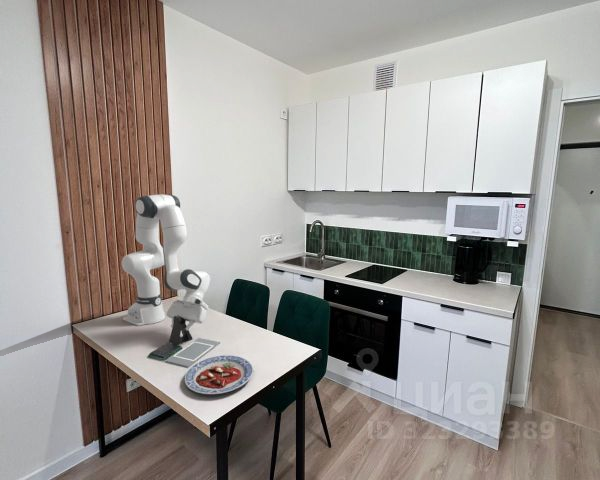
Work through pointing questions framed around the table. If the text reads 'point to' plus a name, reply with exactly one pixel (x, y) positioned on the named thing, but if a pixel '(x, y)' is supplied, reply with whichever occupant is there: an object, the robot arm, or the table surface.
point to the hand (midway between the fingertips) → (179, 328)
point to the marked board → (192, 352)
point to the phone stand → (177, 329)
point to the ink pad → (165, 351)
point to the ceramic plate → (218, 374)
